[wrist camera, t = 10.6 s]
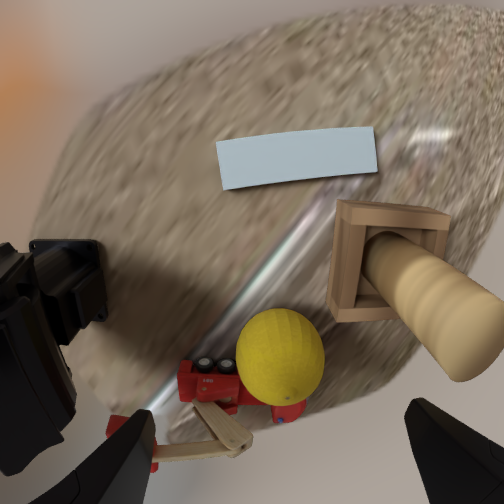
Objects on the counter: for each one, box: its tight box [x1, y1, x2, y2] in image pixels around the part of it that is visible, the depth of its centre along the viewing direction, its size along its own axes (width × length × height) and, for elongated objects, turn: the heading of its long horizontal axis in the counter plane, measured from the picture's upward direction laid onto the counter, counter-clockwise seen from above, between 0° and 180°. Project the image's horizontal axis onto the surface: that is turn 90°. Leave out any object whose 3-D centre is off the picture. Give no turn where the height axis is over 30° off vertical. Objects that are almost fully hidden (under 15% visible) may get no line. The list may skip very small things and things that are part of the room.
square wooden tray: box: [326, 199, 451, 322], centre depth 20 cm, size 8×8×3 cm
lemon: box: [236, 308, 325, 406], centre depth 19 cm, size 6×6×8 cm
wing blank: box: [216, 127, 377, 190], centre depth 18 cm, size 10×3×1 cm, turn 98°
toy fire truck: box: [106, 357, 309, 473], centre depth 19 cm, size 3×14×10 cm, turn 87°
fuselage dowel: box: [360, 231, 504, 382], centre depth 15 cm, size 4×4×11 cm
